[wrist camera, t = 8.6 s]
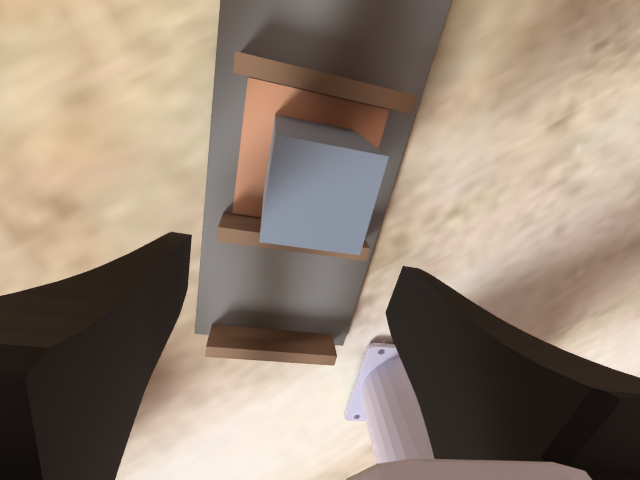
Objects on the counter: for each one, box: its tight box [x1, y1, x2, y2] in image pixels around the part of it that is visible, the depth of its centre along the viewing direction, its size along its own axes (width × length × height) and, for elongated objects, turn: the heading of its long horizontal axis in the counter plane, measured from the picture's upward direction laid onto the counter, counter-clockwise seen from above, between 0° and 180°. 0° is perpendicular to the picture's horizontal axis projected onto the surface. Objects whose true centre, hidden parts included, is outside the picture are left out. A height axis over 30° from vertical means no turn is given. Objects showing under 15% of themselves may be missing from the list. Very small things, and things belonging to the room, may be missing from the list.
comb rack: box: [195, 0, 452, 365], centre depth 17 cm, size 10×24×3 cm, turn 168°
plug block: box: [259, 114, 389, 255], centre depth 15 cm, size 4×4×6 cm
